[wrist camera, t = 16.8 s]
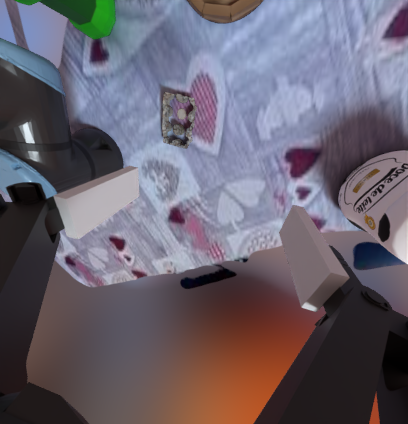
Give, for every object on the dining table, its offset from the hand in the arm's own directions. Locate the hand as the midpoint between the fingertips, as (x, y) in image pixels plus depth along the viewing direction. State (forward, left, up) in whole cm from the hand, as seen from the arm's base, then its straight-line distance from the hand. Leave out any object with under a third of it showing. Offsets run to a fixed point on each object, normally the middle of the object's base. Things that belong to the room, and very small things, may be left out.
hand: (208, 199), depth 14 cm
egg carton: (-14, +3, -31) cm, 34 cm away
